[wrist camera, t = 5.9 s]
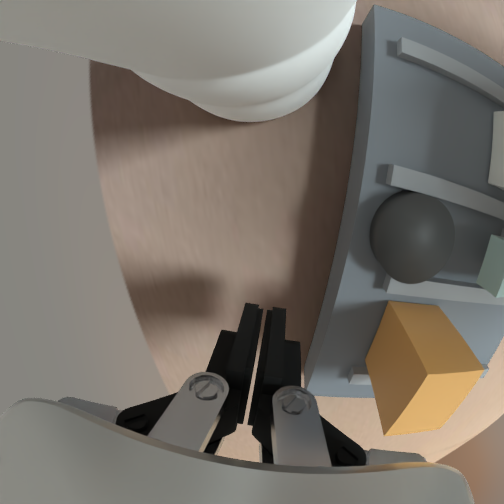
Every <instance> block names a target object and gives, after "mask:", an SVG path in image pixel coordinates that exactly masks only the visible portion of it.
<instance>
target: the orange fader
mask: <svg viewBox="0 0 504 504" xmlns="http://www.w3.org/2000/svg"><path fill="white" fill-rule="evenodd" d="M365 363H366V366H367V370H368V373H369V377H370V380H371V384H372V388H373V392H374V396H375V400H376V404H377V408H378V412H379V416H380V420H381V425H382V429H383V434H384V436H391V435H401V434H409V433H417V432H424V431H430V430H436V429H440V428H441V427H442V426H443V425H444V424H445V422H446V421H447V420H448V419H449V418H450V416H451V415H452V414H453V413H454V412H455V410H456V409H457V408H458V407H459V405H460V404H461V403H462V401H463V400H464V399H465V397H466V396H467V395H468V393H469V392H470V391H471V389H472V388H473V386H474V385H475V384H476V382H477V381H478V379H479V378H480V376H481V375H482V373H483V372H484V370H485V369H484V368H483V366H482V365H481V363H480V362H479V360H478V359H477V357H476V356H475V354H474V353H473V351H472V350H471V349H470V347H469V346H468V344H467V343H466V342H465V340H464V339H463V337H462V336H461V335H460V333H459V332H458V331H457V329H456V328H455V327H454V325H453V324H452V323H451V321H450V320H449V319H448V317H447V316H446V315H445V314H444V312H443V311H442V310H441V309H440V307H439V306H436V305H426V304H416V303H406V302H397V301H388V304H387V306H386V309H385V312H384V315H383V317H382V320H381V322H380V325H379V328H378V330H377V332H376V335H375V337H374V340H373V342H372V345H371V347H370V349H369V351H368V354H367V356H366V358H365Z"/></svg>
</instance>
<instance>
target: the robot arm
mask: <svg viewBox="0 0 504 504" xmlns="http://www.w3.org/2000/svg"><path fill="white" fill-rule="evenodd" d="M258 307H259V305H257V304H250V303H245V307H244V310H243V314H242V317H241V321H240V324H239V327H238V331H237V332H232V331H227V330H221V332H220V335H219V338H218V340H217V343H216V346H215V348H214V351H213V354H212V356H211V359H210V362H209V364H208V367H207V370H206V372H200V373H196V374H194V375H192V376H190V377H189V378H188V379H187V380H186V381H185V383H184V384H183V386H182V387H181V389H180V390H179V392H177V393H174V394H171V395H168V396H166V397H162V398H159V399H156V400H153V401H150V402H147V403H143V404H140V405H137V406H133V407H130V408H127V409H125V410H123V411H121V410H118V409H117V407H114V406H108V405H103V404H98V403H94V402H90V401H85V400H81V399H77V398H73V397H66V398H62V399H60V400H59V401H58V402H57V401H53V400H48V399H42V398H25V399H22V400H19V401H17V402H16V403H14V404H13V405H12V406H10V407H9V408H8V409H7V410H6V411H5V412H4V413H3V414H2V415H1V416H0V504H475V503H474V500H473V496H472V493H471V490H470V488H469V486H468V483H467V481H466V479H465V478H464V476H463V475H462V474H461V473H460V471H458V470H456V469H455V468H453V467H450V466H447V465H443V464H437V463H430V462H427V461H426V460H425V459H424V457H422V456H421V455H420V454H416V453H406V452H395V451H386V450H378V449H370V450H369V451H367V450H363V448H361V447H360V446H359V445H358V444H357V443H355V442H354V441H353V440H351V439H350V438H349V437H347V436H346V435H345V434H343V433H342V432H341V431H339V430H338V429H337V428H336V427H334V426H333V425H332V424H330V423H329V422H328V421H327V420H325V419H324V418H323V417H322V416H320V414H319V410H318V406H317V402H316V399H315V397H314V396H313V394H312V393H311V392H310V391H308V390H306V389H305V388H302V387H301V352H300V342H298V341H290V340H285V322H286V309H283V308H276V307H273V309H272V310H267V315H266V321H265V327H264V333H263V338H262V344H261V350H260V355H259V361H258V367H257V373H256V379H255V385H254V391H253V396H252V402H251V408H250V413H249V419H248V424H247V425H252V426H253V428H252V435H253V436H254V437H255V438H256V439H257V440H258V441H259V442H260V444H259V456H260V463H259V462H251V461H245V460H238V459H233V458H227V457H222V456H217V454H218V452H219V450H220V448H221V446H222V443H223V441H224V438H225V436H227V435H229V434H231V433H233V432H235V430H236V427H237V423H239V424H243V421H244V416H245V410H246V405H247V400H248V395H249V390H250V384H251V379H252V373H253V368H254V363H255V357H256V351H257V345H258V339H259V332H260V326H261V320H262V314H263V309H260V308H258Z"/></svg>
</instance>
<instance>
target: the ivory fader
mask: <svg viewBox="0 0 504 504" xmlns="http://www.w3.org/2000/svg"><path fill="white" fill-rule="evenodd" d="M488 183H489V184H491V185H493V186H495V187H498V188H500V189H502V190H504V111H497V112H494V118H493V141H492V154H491V163H490V171H489V178H488Z"/></svg>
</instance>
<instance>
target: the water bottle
mask: <svg viewBox="0 0 504 504" xmlns="http://www.w3.org/2000/svg"><path fill="white" fill-rule="evenodd" d="M356 1H357V0H0V42H7V43H12V44H19V45H24V46H30V47H35V48H41V49H46V50H51V51H55V52H59V53H64V54H68V55H72V56H77V57H81V58H85V59H89V60H93V61H97V62H101V63H105V64H110V65H114V66H118V67H122V68H126V69H130V70H132V71H133V72H134V73H136V74H137V75H138V76H140V77H141V78H143V79H144V80H146V81H147V82H149V83H151V84H152V85H154V86H156V87H158V88H160V89H162V90H164V91H166V92H168V93H170V94H173V95H176V96H178V97H181V98H184V99H187V100H189V101H191V102H192V103H194V104H195V105H197V106H198V107H200V108H202V109H204V110H206V111H207V112H209V113H212V114H214V115H216V116H219V117H222V118H225V119H229V120H234V121H240V122H260V121H268V120H272V119H276V118H279V117H282V116H285V115H287V114H290V113H292V112H294V111H296V110H297V109H299V108H300V107H302V106H303V105H305V104H306V103H307V102H308V101H310V100H311V99H312V98H313V97H314V96H315V95H316V93H317V92H318V91H319V90H320V88H321V87H322V85H323V84H324V82H325V80H326V78H327V76H328V74H329V71H330V69H331V66H332V63H333V60H334V57H335V56H336V55H337V53H338V52H339V50H340V48H341V47H342V45H343V43H344V41H345V39H346V37H347V35H348V32H349V30H350V27H351V24H352V21H353V17H354V12H355V6H356Z"/></svg>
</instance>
